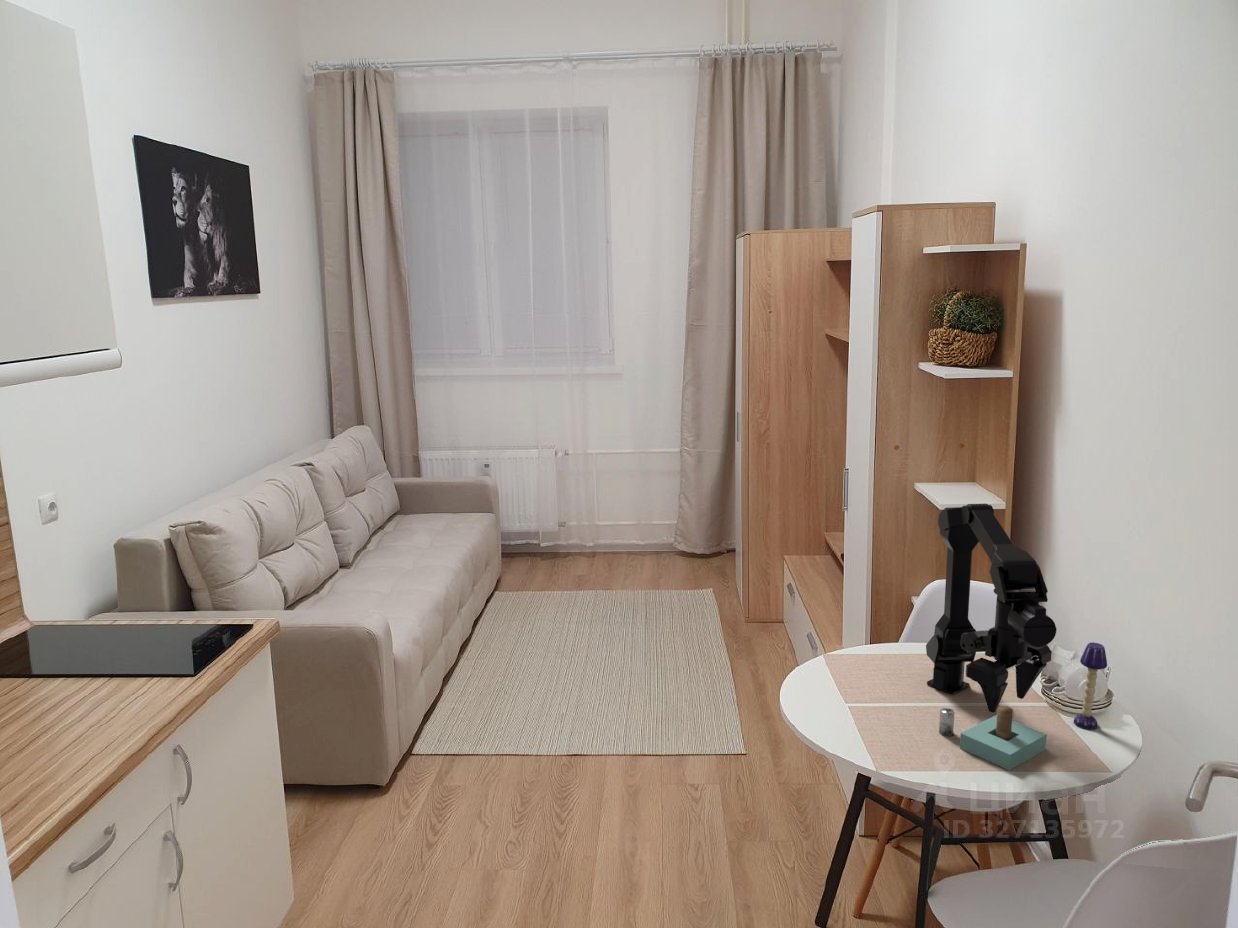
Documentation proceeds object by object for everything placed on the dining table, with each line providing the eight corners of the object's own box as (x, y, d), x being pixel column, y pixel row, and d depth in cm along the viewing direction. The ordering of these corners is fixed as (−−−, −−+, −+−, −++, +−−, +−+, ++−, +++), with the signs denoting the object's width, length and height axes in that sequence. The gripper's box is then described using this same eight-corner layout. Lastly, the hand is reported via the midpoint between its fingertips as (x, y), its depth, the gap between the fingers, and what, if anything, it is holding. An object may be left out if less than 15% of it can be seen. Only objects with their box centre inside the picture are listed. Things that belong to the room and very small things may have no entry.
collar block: (996, 728, 182) (997, 714, 181) (1045, 748, 174) (1046, 734, 173) (959, 747, 175) (960, 733, 174) (1009, 769, 167) (1010, 754, 166)
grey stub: (944, 728, 182) (945, 706, 181) (956, 733, 180) (957, 711, 179) (936, 732, 181) (937, 710, 180) (947, 737, 179) (949, 715, 178)
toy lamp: (1099, 721, 184) (1106, 641, 180) (1102, 732, 180) (1110, 650, 176) (1072, 717, 185) (1079, 638, 182) (1075, 728, 181) (1082, 647, 178)
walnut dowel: (1000, 743, 176) (1002, 704, 174) (1012, 749, 174) (1015, 709, 172) (992, 747, 175) (994, 708, 173) (1004, 753, 172) (1007, 713, 171)
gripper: (1000, 601, 181) (995, 676, 184) (942, 624, 170) (937, 703, 173) (1056, 617, 172) (1049, 696, 175) (998, 642, 161) (992, 726, 164)
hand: (1006, 704), depth 172 cm, fingers open, 9 cm apart
